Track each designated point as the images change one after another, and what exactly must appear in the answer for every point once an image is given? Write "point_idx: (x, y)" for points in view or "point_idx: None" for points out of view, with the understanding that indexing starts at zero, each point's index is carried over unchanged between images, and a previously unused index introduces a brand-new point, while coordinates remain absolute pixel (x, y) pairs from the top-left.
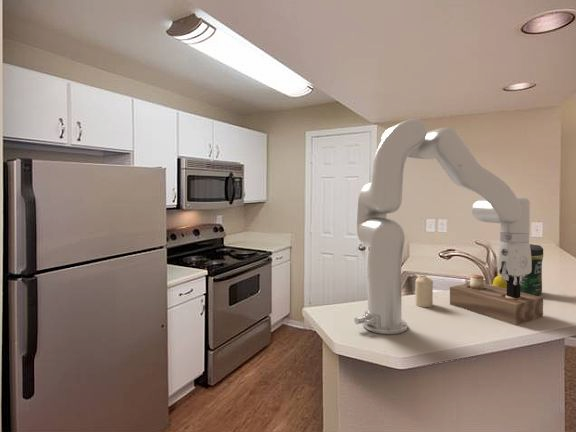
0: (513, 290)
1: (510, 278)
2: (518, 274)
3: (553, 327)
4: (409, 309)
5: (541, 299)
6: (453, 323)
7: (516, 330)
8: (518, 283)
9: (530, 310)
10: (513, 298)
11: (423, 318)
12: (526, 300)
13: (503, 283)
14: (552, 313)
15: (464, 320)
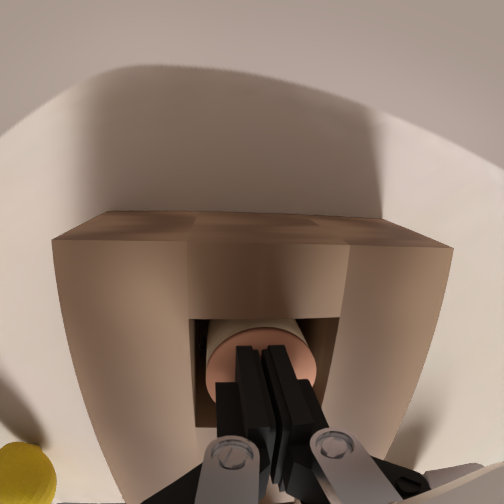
0: (314, 402)
1: (426, 489)
2: (473, 499)
3: (247, 86)
4: (447, 459)
5: (83, 236)
6: (495, 345)
7: (436, 183)
8: (255, 452)
9: (251, 224)
10: (306, 353)
11: (493, 400)
12: (280, 270)
13: (26, 484)
14: (19, 215)
15: (457, 354)
